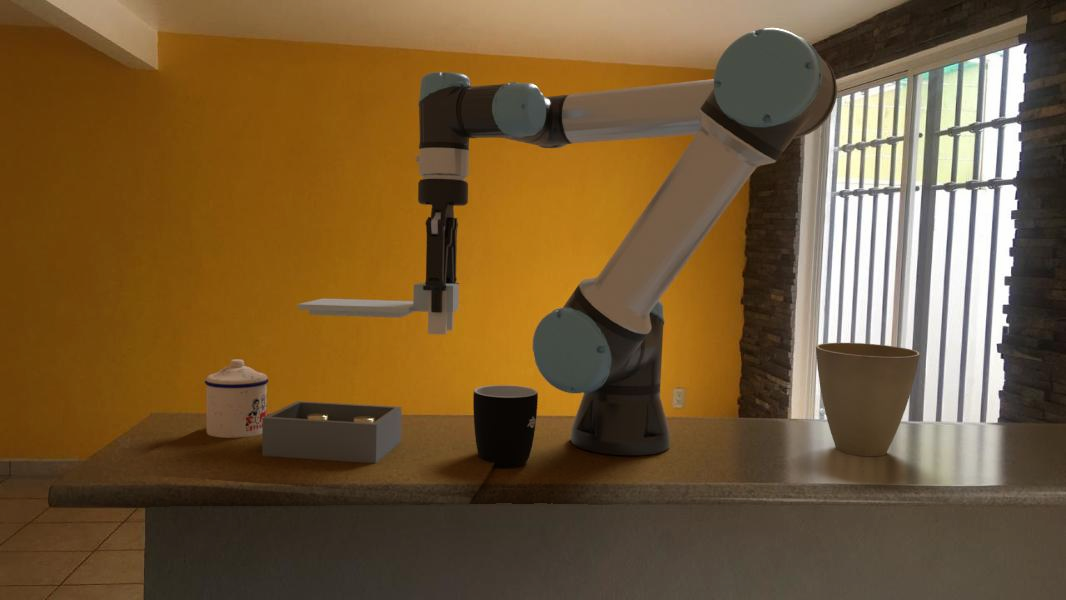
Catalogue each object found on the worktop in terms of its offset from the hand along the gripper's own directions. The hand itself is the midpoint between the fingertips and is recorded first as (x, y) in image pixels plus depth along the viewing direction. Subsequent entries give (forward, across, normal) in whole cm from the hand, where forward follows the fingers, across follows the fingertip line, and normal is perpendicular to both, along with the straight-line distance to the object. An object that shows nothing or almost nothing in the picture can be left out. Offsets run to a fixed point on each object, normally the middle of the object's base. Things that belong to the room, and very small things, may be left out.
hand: (440, 331), depth 133 cm
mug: (+17, +10, +11) cm, 23 cm away
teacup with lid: (+17, +3, -30) cm, 35 cm away
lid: (-2, 0, -9) cm, 9 cm away
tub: (+17, +12, -13) cm, 24 cm away
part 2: (+16, +10, -9) cm, 21 cm away
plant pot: (+17, -5, +65) cm, 68 cm away
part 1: (+16, +9, -16) cm, 24 cm away
